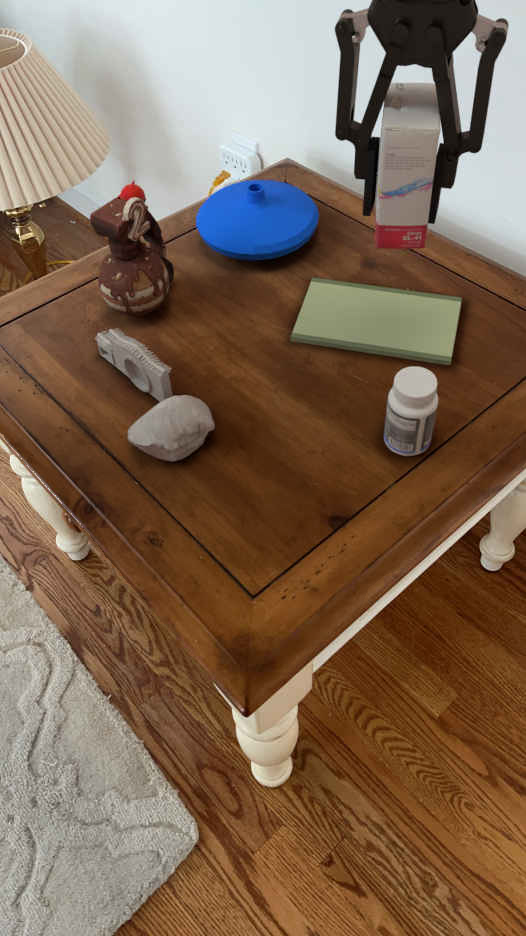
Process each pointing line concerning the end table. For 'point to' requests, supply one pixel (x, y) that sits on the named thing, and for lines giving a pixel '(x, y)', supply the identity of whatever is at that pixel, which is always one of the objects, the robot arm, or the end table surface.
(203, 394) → the end table surface
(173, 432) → the grey stone
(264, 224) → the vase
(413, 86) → the ink box
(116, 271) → the grenade
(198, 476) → the end table surface
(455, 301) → the mat
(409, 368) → the pill bottle
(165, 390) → the garden wall model
